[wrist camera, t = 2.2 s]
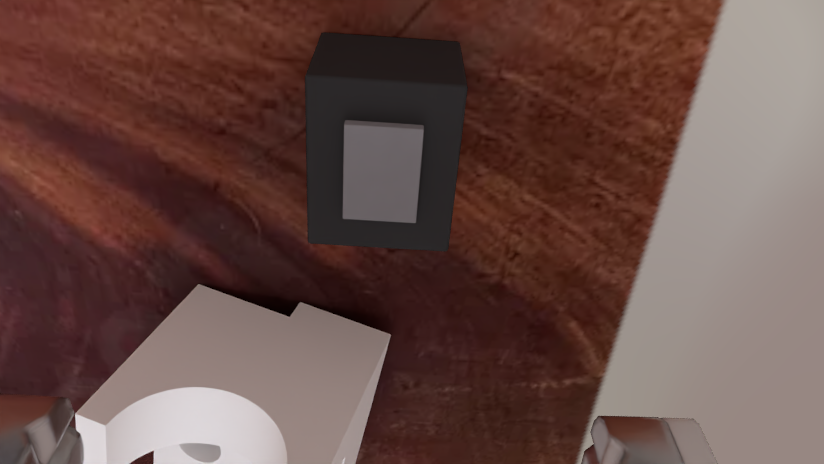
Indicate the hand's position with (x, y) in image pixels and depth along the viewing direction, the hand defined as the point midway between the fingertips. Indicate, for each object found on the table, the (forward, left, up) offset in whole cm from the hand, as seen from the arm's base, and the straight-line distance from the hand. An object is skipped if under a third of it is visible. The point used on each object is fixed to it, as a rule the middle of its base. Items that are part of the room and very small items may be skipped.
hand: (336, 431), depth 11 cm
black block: (0, 0, -12) cm, 12 cm away
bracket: (-4, +14, -12) cm, 19 cm away
